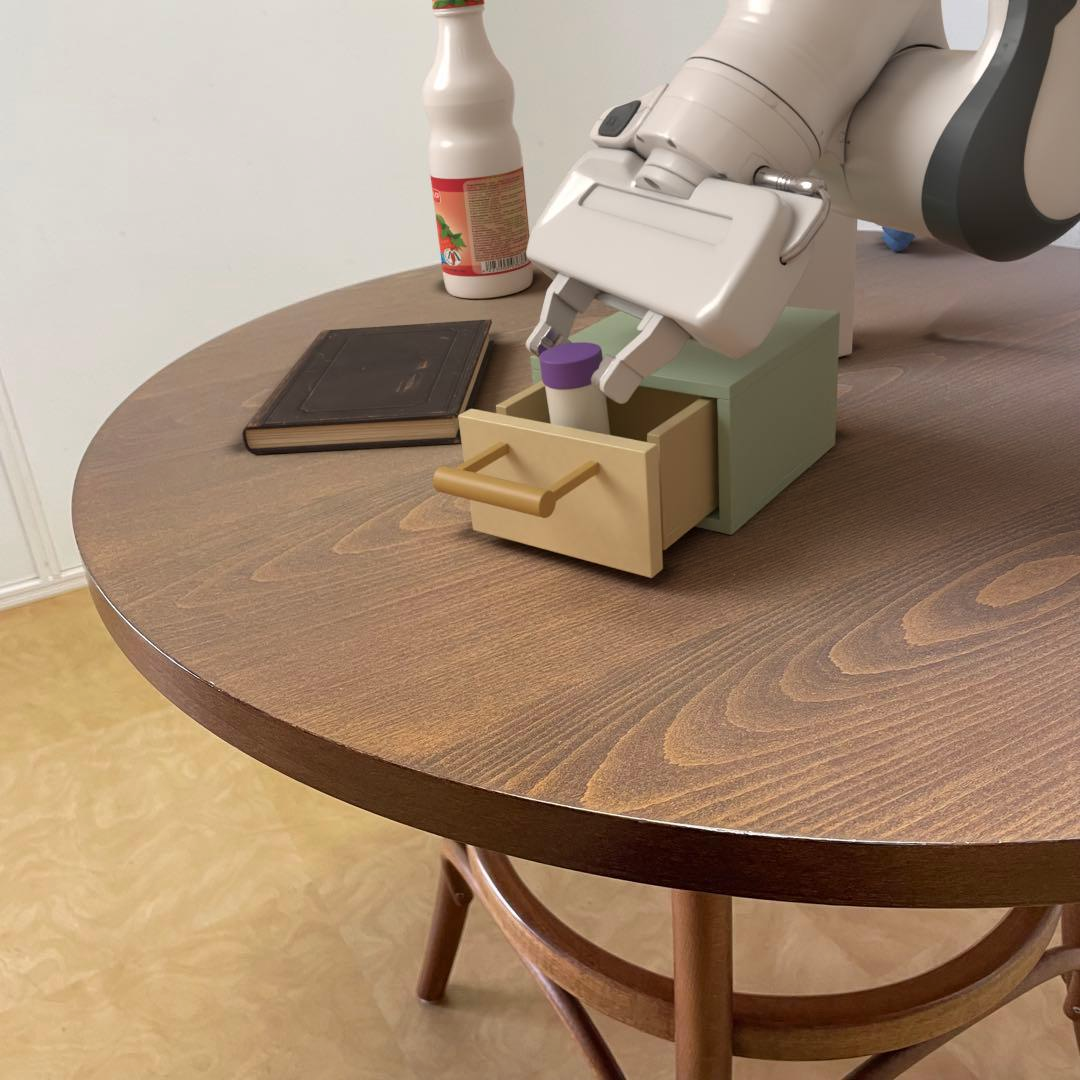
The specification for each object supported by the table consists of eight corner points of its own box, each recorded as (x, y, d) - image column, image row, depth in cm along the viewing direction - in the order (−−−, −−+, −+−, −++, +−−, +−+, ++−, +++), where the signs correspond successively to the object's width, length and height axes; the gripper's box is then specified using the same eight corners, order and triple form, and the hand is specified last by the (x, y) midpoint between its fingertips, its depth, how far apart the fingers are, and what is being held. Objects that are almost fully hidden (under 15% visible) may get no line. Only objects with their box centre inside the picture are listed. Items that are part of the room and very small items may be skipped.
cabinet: (731, 535, 65) (729, 386, 61) (542, 491, 73) (529, 356, 69) (835, 444, 75) (840, 311, 71) (660, 414, 83) (655, 292, 79)
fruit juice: (522, 299, 114) (492, -8, 101) (433, 301, 116) (393, 1, 103) (543, 274, 122) (517, -13, 109) (460, 276, 124) (425, -5, 111)
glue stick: (632, 501, 65) (613, 344, 61) (599, 527, 63) (578, 365, 59) (584, 493, 67) (562, 340, 63) (550, 517, 65) (526, 360, 61)
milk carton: (778, 374, 88) (781, 117, 79) (728, 351, 94) (726, 110, 85) (852, 356, 90) (863, 104, 82) (799, 334, 96) (804, 97, 87)
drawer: (593, 627, 56) (583, 495, 53) (410, 570, 63) (390, 450, 60) (767, 481, 69) (767, 367, 66) (599, 447, 76) (592, 343, 73)
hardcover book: (494, 343, 102) (491, 318, 100) (460, 443, 81) (457, 413, 80) (321, 354, 103) (316, 330, 102) (246, 455, 83) (239, 426, 82)
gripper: (883, 224, 54) (714, 464, 55) (656, 174, 70) (529, 359, 71) (810, 140, 50) (630, 399, 51) (588, 108, 66) (456, 304, 67)
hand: (570, 375), depth 61 cm, fingers open, 6 cm apart
